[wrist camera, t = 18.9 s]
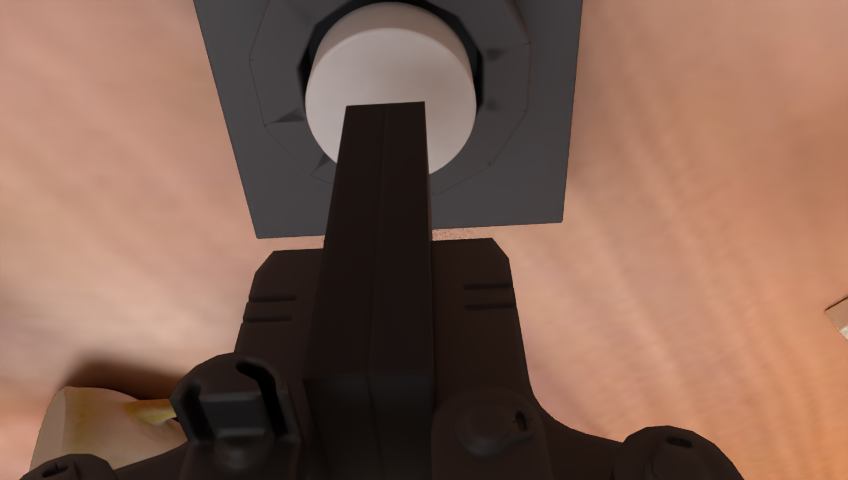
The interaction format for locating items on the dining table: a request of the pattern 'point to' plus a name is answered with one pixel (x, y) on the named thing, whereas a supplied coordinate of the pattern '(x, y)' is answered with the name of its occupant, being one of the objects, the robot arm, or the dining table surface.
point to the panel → (450, 185)
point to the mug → (106, 427)
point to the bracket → (840, 317)
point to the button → (393, 75)
